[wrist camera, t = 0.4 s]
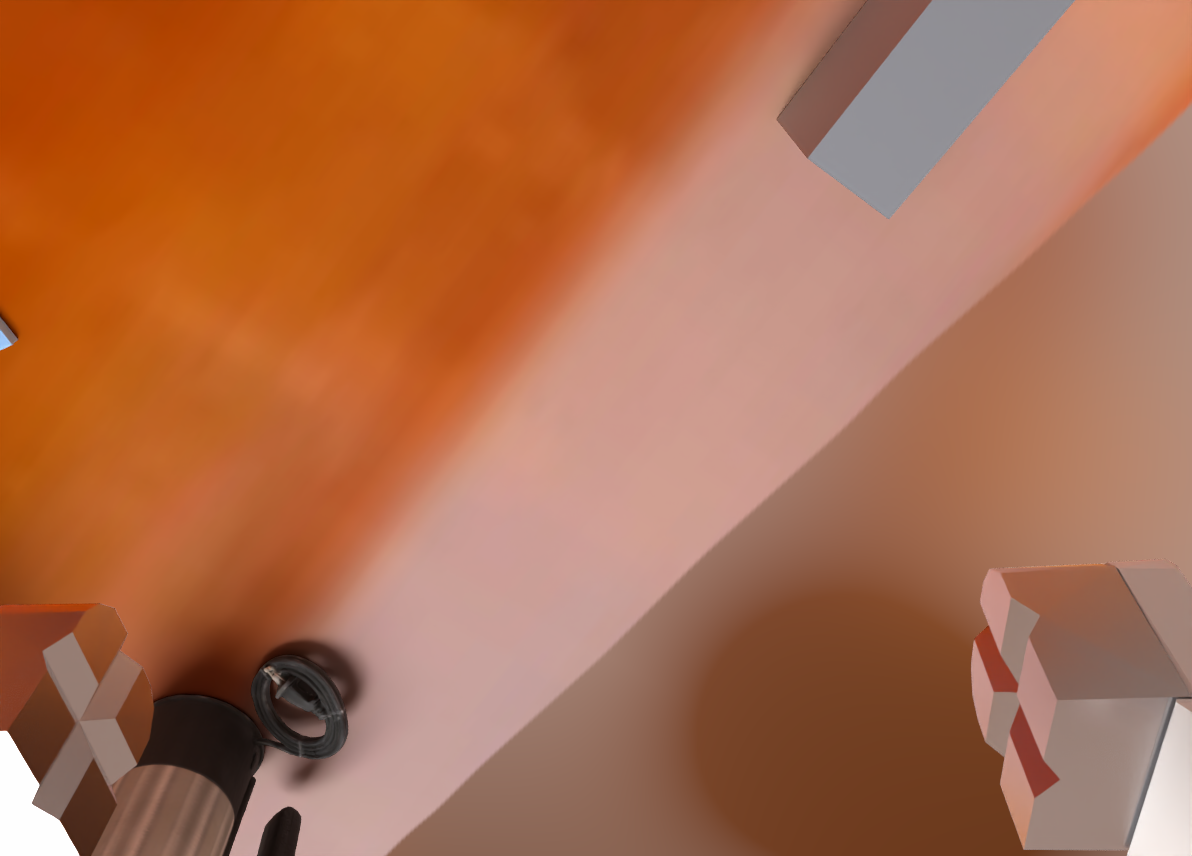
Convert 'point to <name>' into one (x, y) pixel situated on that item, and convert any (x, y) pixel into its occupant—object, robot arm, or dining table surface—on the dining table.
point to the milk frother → (218, 767)
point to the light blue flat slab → (6, 335)
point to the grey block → (909, 87)
